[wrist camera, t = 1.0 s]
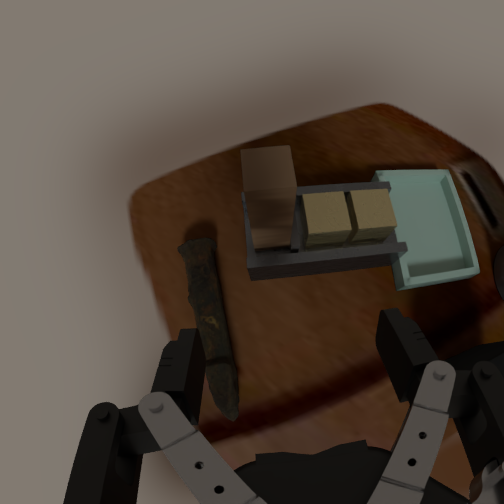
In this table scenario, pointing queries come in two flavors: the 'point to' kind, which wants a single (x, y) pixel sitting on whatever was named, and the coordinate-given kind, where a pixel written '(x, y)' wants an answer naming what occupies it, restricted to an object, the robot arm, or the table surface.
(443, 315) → the table surface
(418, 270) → the tray
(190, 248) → the hand tool
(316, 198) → the pale yellow cube
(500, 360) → the electronic device
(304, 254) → the slot rail
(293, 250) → the tan wooden block
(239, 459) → the table surface
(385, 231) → the tan cube
